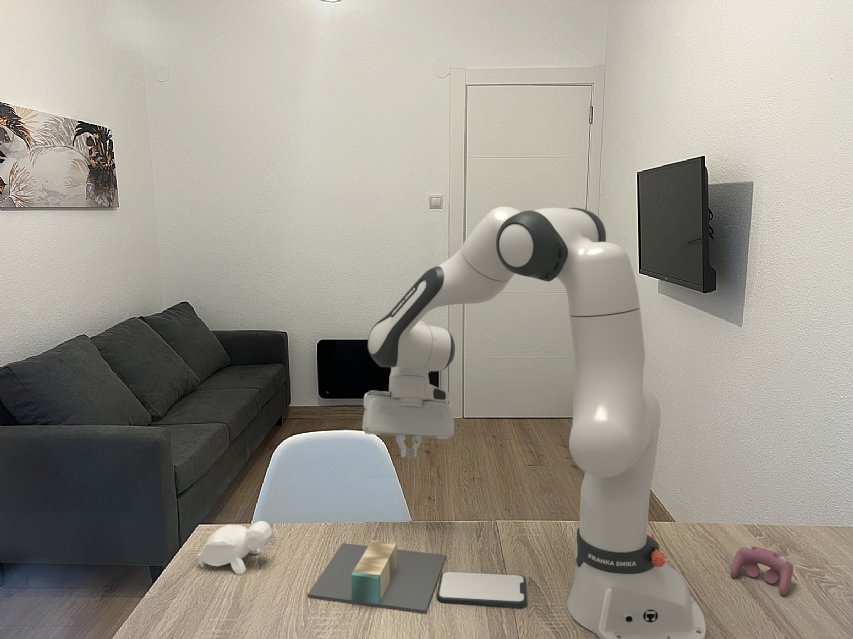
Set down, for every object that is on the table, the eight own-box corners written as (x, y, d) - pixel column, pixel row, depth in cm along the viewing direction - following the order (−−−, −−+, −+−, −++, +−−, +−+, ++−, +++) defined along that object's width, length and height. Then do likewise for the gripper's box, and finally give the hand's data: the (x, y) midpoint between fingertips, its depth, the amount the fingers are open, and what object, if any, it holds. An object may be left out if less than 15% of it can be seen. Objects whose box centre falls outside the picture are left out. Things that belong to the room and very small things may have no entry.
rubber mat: (446, 557, 127) (446, 555, 127) (425, 613, 110) (425, 610, 110) (342, 545, 132) (342, 543, 132) (307, 597, 115) (307, 594, 114)
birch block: (396, 542, 122) (378, 578, 110) (397, 566, 123) (378, 604, 111) (371, 540, 123) (351, 575, 112) (372, 563, 124) (352, 600, 112)
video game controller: (790, 597, 116) (797, 559, 117) (785, 597, 112) (793, 557, 114) (733, 576, 122) (740, 540, 123) (727, 576, 119) (734, 539, 120)
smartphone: (435, 606, 113) (526, 611, 111) (435, 598, 112) (526, 603, 110) (441, 577, 121) (525, 582, 119) (441, 570, 121) (525, 574, 119)
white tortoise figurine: (204, 586, 123) (270, 566, 120) (186, 547, 123) (252, 526, 119) (225, 562, 132) (287, 542, 129) (208, 526, 131) (270, 505, 128)
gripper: (368, 386, 132) (366, 453, 127) (456, 394, 139) (457, 457, 135) (359, 392, 137) (357, 457, 133) (444, 399, 145) (445, 460, 141)
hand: (408, 457), depth 134 cm, fingers closed
